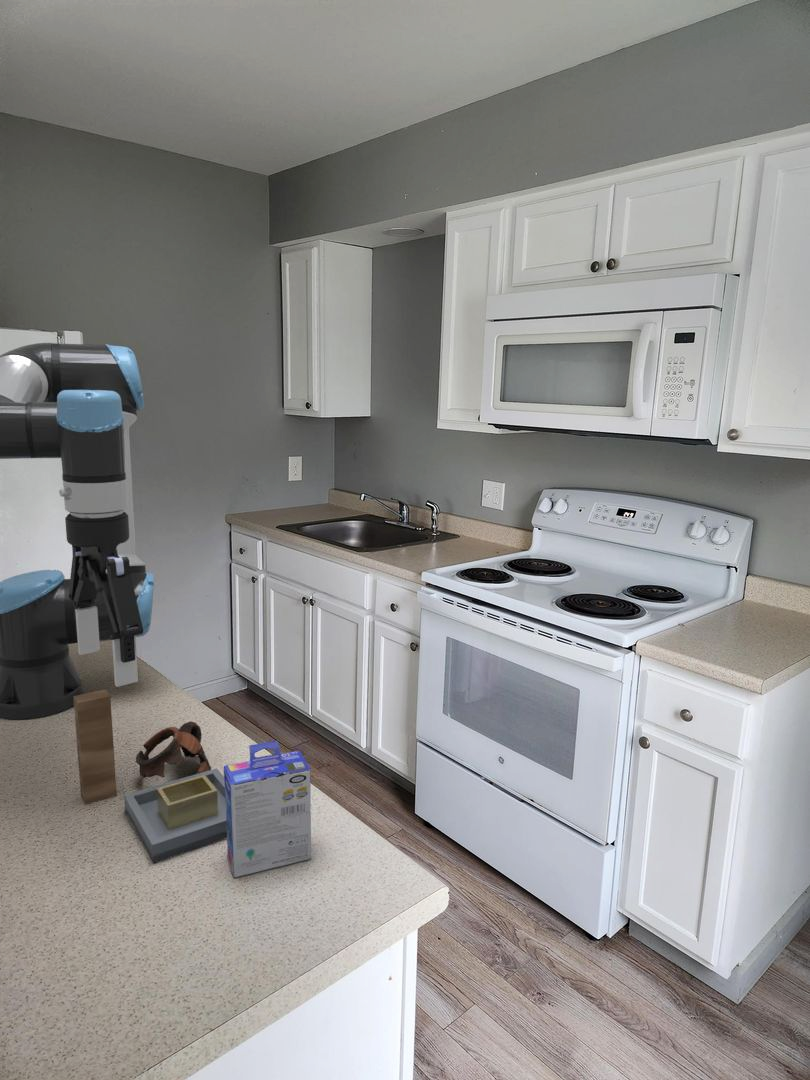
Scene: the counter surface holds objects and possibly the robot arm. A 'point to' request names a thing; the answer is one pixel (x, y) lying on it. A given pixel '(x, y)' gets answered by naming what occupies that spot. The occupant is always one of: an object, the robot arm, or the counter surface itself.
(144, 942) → the counter surface
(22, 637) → the robot arm
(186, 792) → the tan hollow wooden box
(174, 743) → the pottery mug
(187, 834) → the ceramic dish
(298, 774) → the ink cartridge box
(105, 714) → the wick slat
